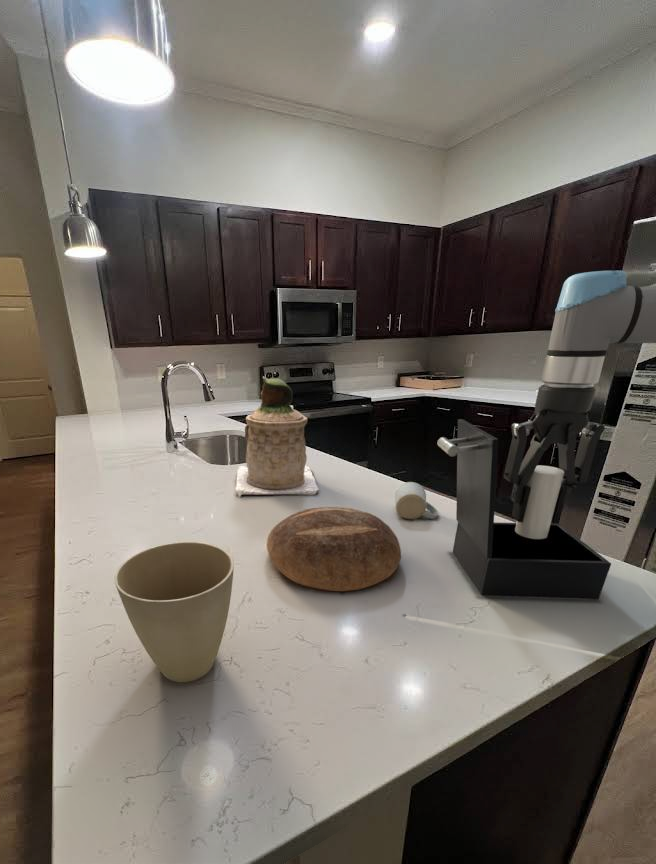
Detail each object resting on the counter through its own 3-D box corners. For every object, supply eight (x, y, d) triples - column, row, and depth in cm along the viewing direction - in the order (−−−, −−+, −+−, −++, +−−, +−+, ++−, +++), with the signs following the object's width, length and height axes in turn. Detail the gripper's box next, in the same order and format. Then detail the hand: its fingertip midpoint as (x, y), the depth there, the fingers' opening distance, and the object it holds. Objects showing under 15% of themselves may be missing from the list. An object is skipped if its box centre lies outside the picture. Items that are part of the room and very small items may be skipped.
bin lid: (462, 418, 76) (429, 423, 77) (498, 439, 62) (457, 444, 63) (460, 519, 84) (430, 522, 85) (492, 557, 70) (456, 561, 71)
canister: (544, 528, 77) (560, 466, 73) (550, 541, 73) (568, 475, 68) (512, 525, 79) (526, 464, 74) (517, 537, 75) (532, 473, 70)
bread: (262, 534, 97) (261, 495, 93) (374, 528, 100) (377, 490, 96) (274, 600, 74) (273, 551, 70) (420, 590, 76) (427, 542, 72)
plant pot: (243, 629, 67) (239, 540, 60) (233, 706, 53) (226, 602, 47) (150, 628, 67) (136, 540, 61) (116, 705, 53) (94, 601, 47)
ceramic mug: (394, 519, 104) (397, 491, 101) (393, 507, 111) (396, 480, 108) (439, 524, 102) (444, 495, 99) (435, 511, 109) (440, 483, 106)
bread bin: (549, 557, 86) (559, 523, 83) (597, 602, 72) (611, 563, 69) (451, 555, 88) (457, 521, 85) (480, 599, 73) (489, 560, 70)
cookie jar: (320, 496, 120) (324, 379, 107) (234, 498, 119) (228, 381, 106) (310, 469, 142) (312, 371, 130) (237, 471, 142) (233, 372, 129)
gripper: (612, 381, 69) (575, 511, 78) (497, 382, 70) (473, 510, 79) (647, 386, 62) (601, 528, 71) (518, 388, 63) (490, 527, 72)
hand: (534, 518), depth 75 cm, fingers closed on canister, 5 cm apart
